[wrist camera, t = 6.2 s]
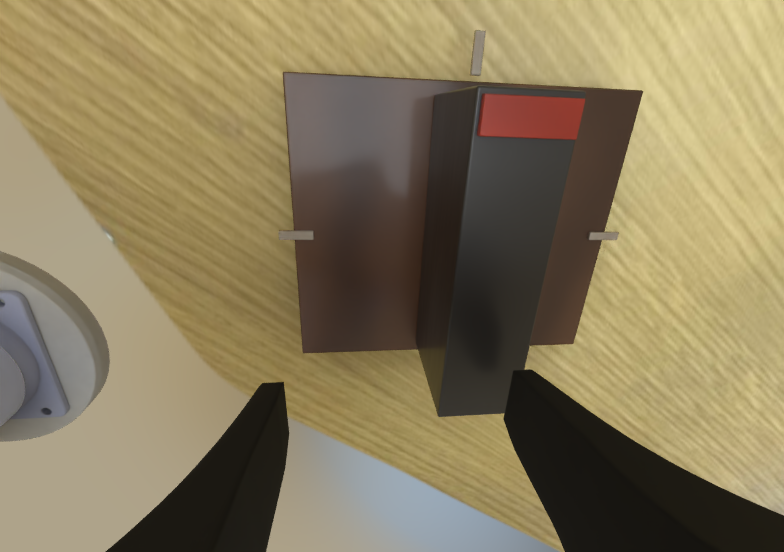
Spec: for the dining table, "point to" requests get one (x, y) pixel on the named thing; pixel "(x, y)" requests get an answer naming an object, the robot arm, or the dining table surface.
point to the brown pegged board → (418, 204)
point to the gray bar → (489, 236)
